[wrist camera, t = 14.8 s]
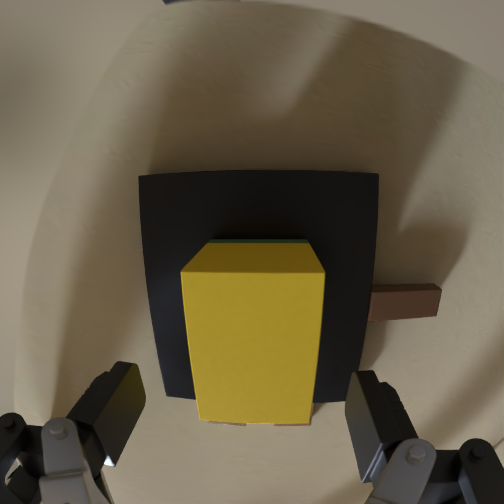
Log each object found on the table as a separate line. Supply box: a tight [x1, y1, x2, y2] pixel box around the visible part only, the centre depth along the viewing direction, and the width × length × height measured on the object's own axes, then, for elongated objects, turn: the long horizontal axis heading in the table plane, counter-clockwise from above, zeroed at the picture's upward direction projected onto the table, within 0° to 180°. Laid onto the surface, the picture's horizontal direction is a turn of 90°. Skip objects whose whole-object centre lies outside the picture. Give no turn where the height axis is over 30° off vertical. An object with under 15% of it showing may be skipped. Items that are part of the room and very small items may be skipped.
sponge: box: [181, 239, 325, 424], centre depth 15 cm, size 8×6×6 cm
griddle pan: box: [138, 170, 442, 403], centre depth 18 cm, size 16×19×2 cm
